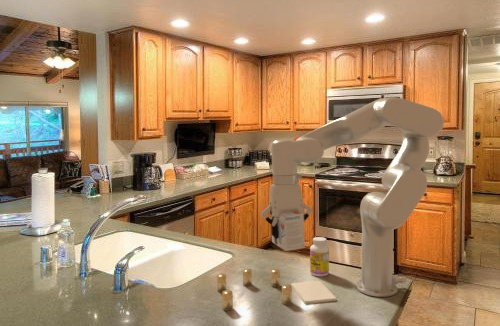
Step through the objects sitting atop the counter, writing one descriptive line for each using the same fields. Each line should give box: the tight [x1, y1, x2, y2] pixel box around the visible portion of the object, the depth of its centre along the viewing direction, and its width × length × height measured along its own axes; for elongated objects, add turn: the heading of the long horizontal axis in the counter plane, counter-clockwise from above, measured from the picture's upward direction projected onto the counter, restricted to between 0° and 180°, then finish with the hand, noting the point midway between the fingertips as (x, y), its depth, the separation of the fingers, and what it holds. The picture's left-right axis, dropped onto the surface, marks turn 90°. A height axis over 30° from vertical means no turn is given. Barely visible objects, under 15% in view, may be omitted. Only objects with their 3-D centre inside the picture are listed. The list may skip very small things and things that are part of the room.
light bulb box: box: [270, 212, 306, 252], centre depth 125 cm, size 11×7×11 cm, turn 21°
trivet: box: [290, 280, 337, 305], centre depth 129 cm, size 10×14×1 cm
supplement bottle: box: [309, 236, 330, 278], centre depth 144 cm, size 7×7×13 cm
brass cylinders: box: [216, 268, 293, 312], centre depth 128 cm, size 21×19×5 cm
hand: (287, 235), depth 126 cm, fingers closed on light bulb box, 7 cm apart
